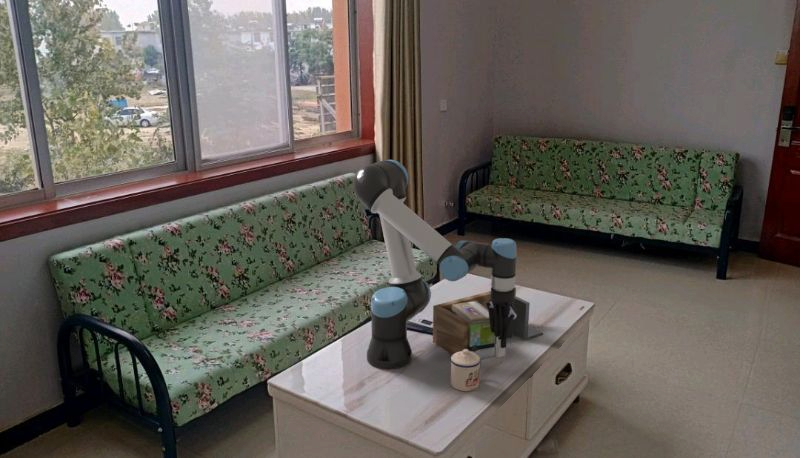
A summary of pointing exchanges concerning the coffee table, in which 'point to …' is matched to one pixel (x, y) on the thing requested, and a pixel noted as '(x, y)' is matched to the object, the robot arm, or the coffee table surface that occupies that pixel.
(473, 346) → the tea box
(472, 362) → the teacup with lid
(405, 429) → the coffee table surface
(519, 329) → the bookend
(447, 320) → the shelf
